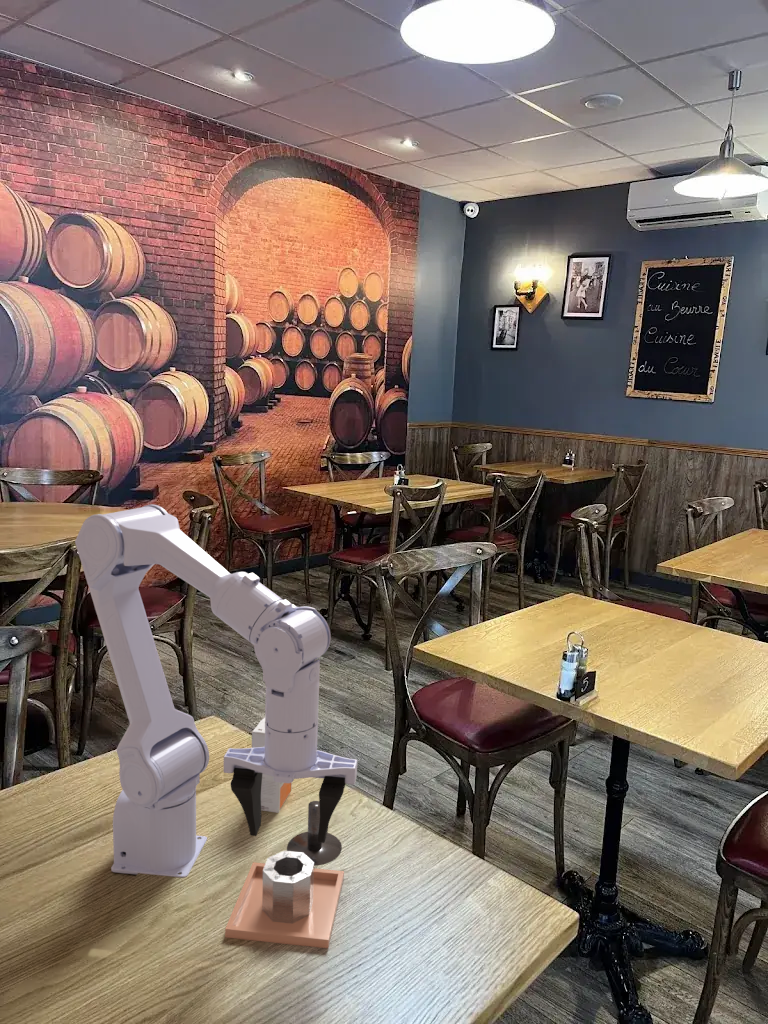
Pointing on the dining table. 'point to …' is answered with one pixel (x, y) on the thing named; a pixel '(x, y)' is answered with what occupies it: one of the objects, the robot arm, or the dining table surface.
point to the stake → (315, 840)
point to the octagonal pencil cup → (288, 886)
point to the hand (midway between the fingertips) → (289, 833)
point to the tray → (305, 932)
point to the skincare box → (269, 778)
